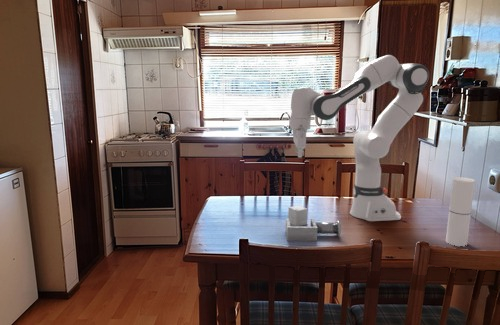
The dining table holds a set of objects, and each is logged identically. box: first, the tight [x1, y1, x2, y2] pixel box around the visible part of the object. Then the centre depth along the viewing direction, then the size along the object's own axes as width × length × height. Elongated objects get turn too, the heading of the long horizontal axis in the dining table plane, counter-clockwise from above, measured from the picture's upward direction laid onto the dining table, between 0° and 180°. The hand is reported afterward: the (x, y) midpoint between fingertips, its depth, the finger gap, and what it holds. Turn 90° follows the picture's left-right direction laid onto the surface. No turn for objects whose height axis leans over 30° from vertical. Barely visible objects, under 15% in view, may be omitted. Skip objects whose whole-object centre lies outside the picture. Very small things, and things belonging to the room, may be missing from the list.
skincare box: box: [287, 204, 308, 226], centre depth 159 cm, size 6×6×7 cm
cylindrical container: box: [445, 176, 476, 247], centre depth 138 cm, size 7×7×25 cm
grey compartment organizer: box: [285, 217, 342, 242], centre depth 146 cm, size 21×10×6 cm, turn 88°
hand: (298, 155), depth 163 cm, fingers open, 8 cm apart
